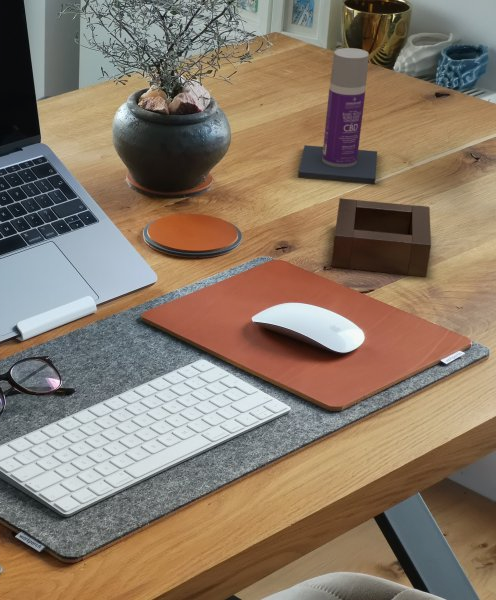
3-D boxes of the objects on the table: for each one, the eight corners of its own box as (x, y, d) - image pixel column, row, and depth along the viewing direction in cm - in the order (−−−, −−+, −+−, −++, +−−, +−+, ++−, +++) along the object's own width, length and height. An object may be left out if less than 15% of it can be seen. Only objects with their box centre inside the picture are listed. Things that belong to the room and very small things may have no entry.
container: (342, 170, 148) (354, 60, 141) (314, 160, 152) (325, 52, 144) (363, 161, 151) (377, 53, 144) (336, 152, 154) (348, 45, 147)
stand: (424, 237, 133) (429, 206, 131) (425, 277, 124) (431, 244, 122) (336, 228, 135) (339, 198, 133) (331, 266, 126) (334, 235, 124)
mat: (376, 156, 155) (377, 151, 154) (374, 184, 146) (375, 178, 146) (303, 150, 157) (304, 145, 157) (298, 177, 148) (298, 171, 148)
